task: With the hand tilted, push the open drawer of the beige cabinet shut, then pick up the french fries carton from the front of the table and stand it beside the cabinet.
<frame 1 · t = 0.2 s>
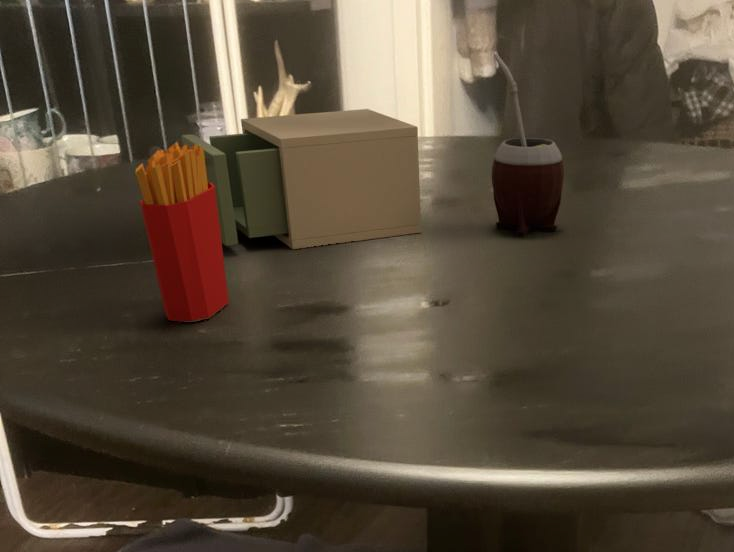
drawer: (247, 185, 95), point 5 cm above the table, slide at 5.0 cm
french fries: (197, 313, 79), on the table
cabinet: (336, 226, 101), on the table
mate gourd: (522, 230, 100), on the table
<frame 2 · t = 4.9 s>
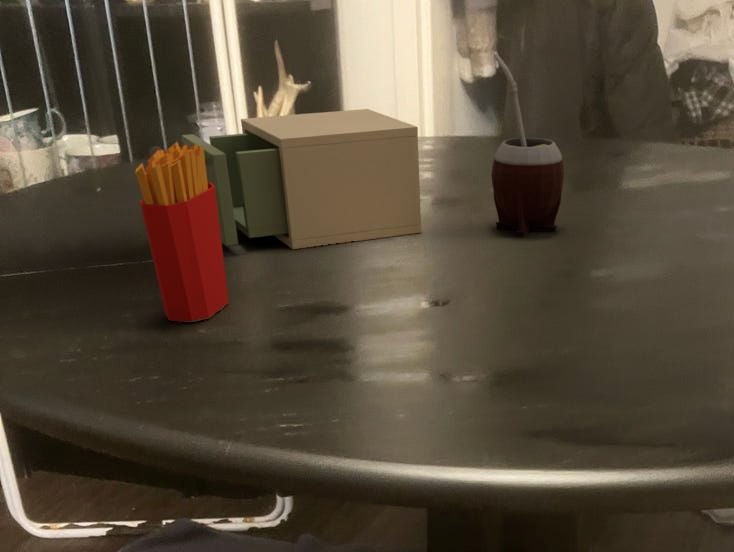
nothing on the table moved.
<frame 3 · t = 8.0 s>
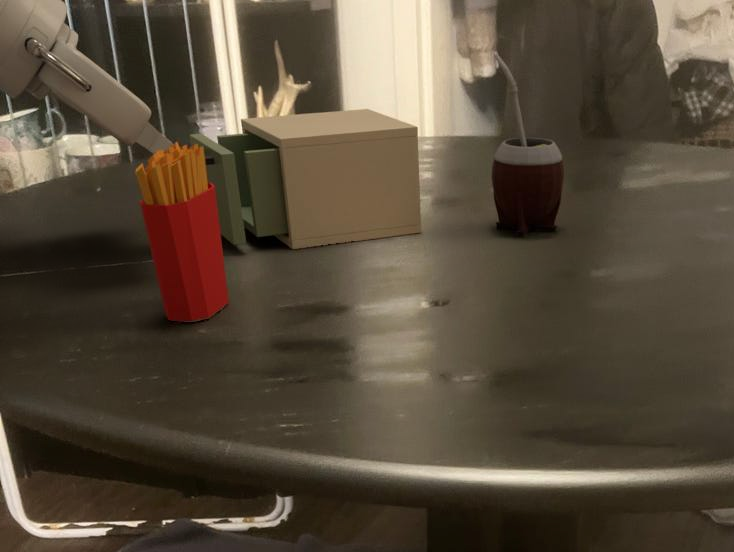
hand: (167, 152, 90), 8 cm above the table, tool tilted 45°, fingers closed, pressing on drawer
drawer: (254, 184, 95), point 5 cm above the table, slide at 4.2 cm, touching gripper
everything else where it was.
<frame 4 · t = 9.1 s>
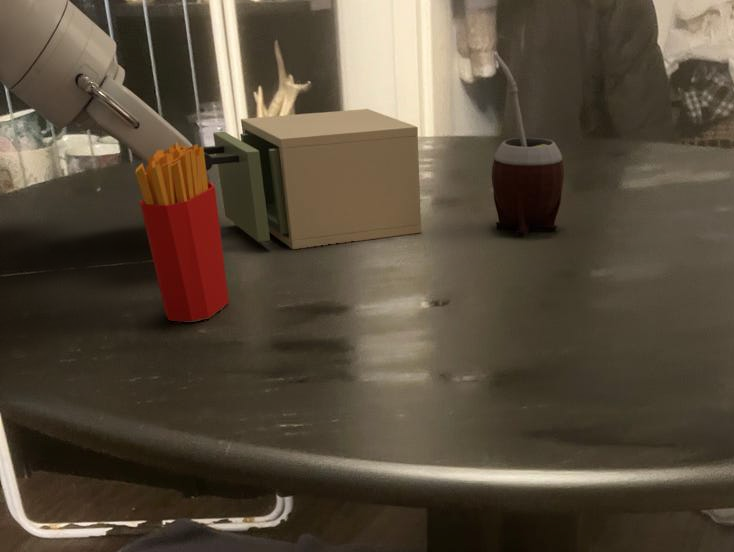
hand: (202, 183, 93), 5 cm above the table, tool tilted 45°, fingers closed
drawer: (278, 181, 96), point 5 cm above the table, slide at 1.9 cm, touching gripper
everything else where it was.
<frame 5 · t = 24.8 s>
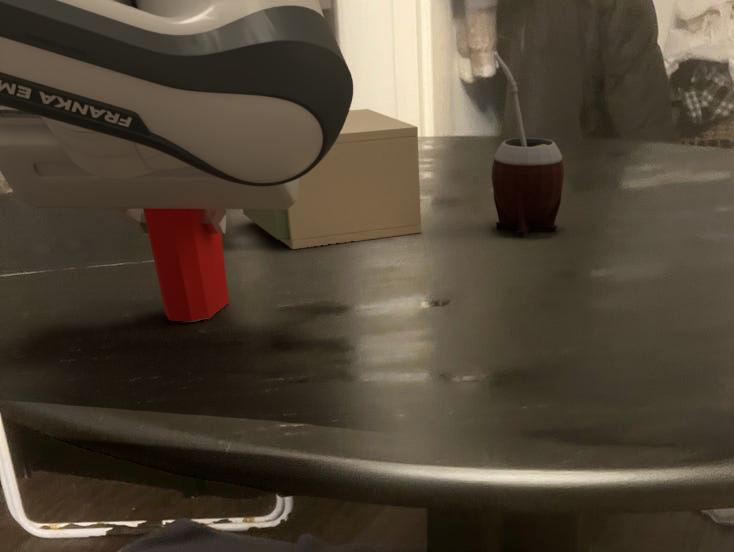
hand: (184, 225, 75), 6 cm above the table, tool tilted 45°, fingers closed on french fries, 4 cm apart
drawer: (296, 179, 96), point 5 cm above the table, slide at 0.0 cm
french fries: (197, 313, 79), on the table, touching gripper
everything else where it was.
when the fingers open (6 cm above the table, at t = 31.5 s): french fries stays where it is, on the table.
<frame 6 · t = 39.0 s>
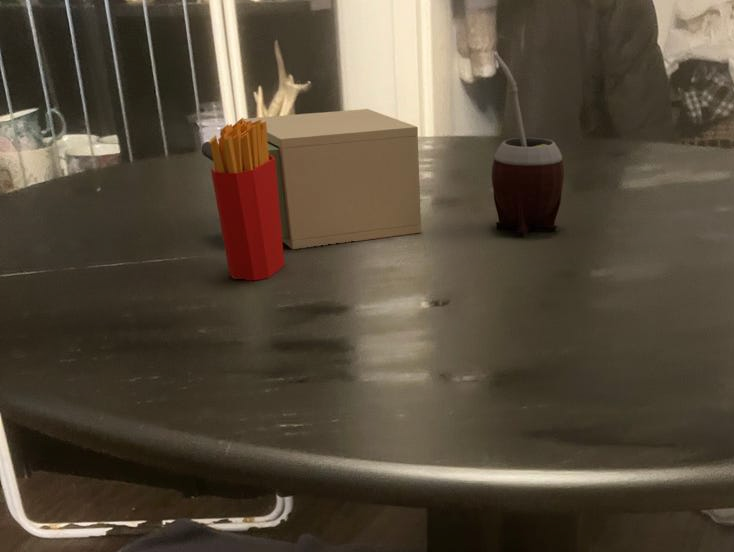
french fries: (257, 273, 88), on the table
everything else where it was.
at the end: drawer slide at 0.0 cm; french fries inside the target area on the table beside the cabinet (0.1 cm from its centre), on the table; french fries tilted 0° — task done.
